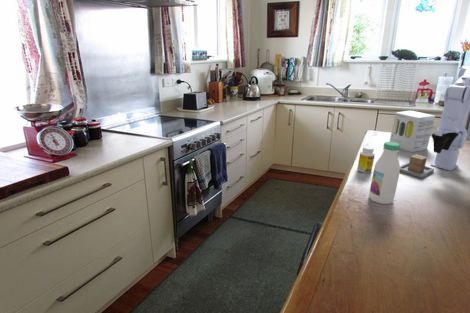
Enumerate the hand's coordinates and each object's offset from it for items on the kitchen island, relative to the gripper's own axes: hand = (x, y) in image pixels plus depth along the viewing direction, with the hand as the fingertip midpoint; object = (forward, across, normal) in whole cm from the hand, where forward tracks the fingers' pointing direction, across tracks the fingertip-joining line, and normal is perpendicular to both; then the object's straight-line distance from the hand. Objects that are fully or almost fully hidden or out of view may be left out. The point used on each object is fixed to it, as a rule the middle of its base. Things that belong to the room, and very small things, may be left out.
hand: (440, 151), depth 125 cm
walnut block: (+10, -3, +6) cm, 12 cm away
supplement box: (+10, +29, +24) cm, 39 cm away
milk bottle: (+12, -39, +2) cm, 40 cm away
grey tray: (+10, -3, +7) cm, 13 cm away
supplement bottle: (+11, -20, +19) cm, 30 cm away
